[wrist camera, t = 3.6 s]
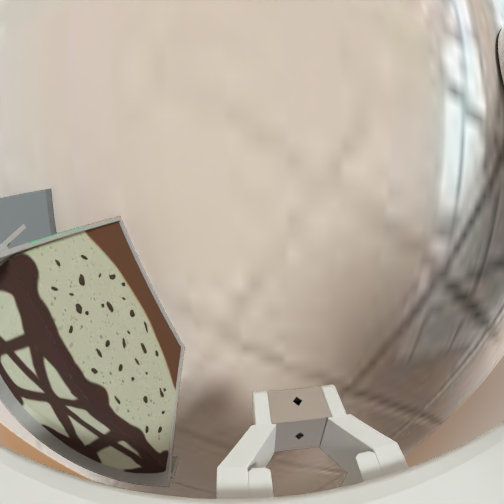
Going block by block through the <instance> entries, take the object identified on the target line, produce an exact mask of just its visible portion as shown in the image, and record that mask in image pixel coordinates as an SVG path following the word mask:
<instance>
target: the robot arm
mask: <svg viewBox="0 0 504 504" xmlns="http://www.w3.org/2000/svg"><path fill="white" fill-rule="evenodd" d="M498 54H499V62H500V68H501V74H502V78H503V83H504V27H503V28H502V29H501V31H500V34H499V39H498ZM313 447H320V448H321V449H322V450H323V451H324V452H325V453H326V454H327V455H328V456H329V457H330V458H332V459H333V460H334V461H335V462H336V463H337V464H338V465H339V466H340V467H342V468H343V469H344V470H345V471H346V472H347V475H346V477H345V479H344V481H343V482H342V484H341V486H340V487H339V488H334V489H329V490H323V491H318V492H312V493H305V494H298V495H289V496H280V497H274V493H273V486H272V479H271V471H270V470H269V469H267V468H266V466H267V465H268V463H269V461H270V459H271V458H272V456H273V454H274V452H278V451H287V450H294V449H304V448H313ZM0 504H504V421H503V422H501V423H500V424H498V425H497V426H495V427H493V428H492V429H490V430H488V431H487V432H485V433H483V434H481V435H479V436H478V437H476V438H474V439H472V440H470V441H468V442H467V443H464V444H463V445H460V446H459V447H456V448H454V449H452V450H450V451H448V452H446V453H444V454H441V455H439V456H437V457H434V458H432V459H430V460H428V461H425V462H422V463H420V464H417V465H415V466H412V467H409V466H408V464H407V462H406V460H405V458H404V456H403V454H402V452H401V450H400V448H399V446H398V444H397V442H395V441H393V440H392V439H390V438H388V437H387V436H385V435H383V434H382V433H380V432H378V431H377V430H375V429H373V428H372V427H370V426H369V425H367V424H365V423H364V422H362V421H361V420H359V419H357V418H356V417H354V416H353V415H351V414H346V412H345V409H344V407H343V404H342V402H341V399H340V397H339V395H338V392H337V390H336V387H335V386H334V385H333V384H331V385H324V386H316V387H308V388H299V389H291V390H272V391H253V425H251V426H250V427H249V429H248V430H247V431H246V432H245V434H244V435H243V436H242V438H241V439H240V440H239V441H238V443H237V444H236V445H235V447H234V448H233V449H232V450H231V451H230V453H229V454H228V455H227V456H226V458H225V459H224V460H223V461H222V462H221V464H220V465H219V466H218V467H217V490H216V499H208V498H190V497H179V496H169V495H161V494H154V493H147V492H141V491H135V490H130V489H125V488H120V487H116V486H111V485H107V484H103V483H99V482H95V481H92V480H88V479H85V478H81V477H78V476H75V475H72V474H69V473H65V472H63V471H60V470H57V469H55V468H52V467H49V466H46V465H44V464H42V463H39V462H36V461H34V460H32V459H30V458H27V457H25V456H23V455H21V454H18V453H16V452H14V451H12V450H10V449H8V448H6V447H4V446H2V445H0Z"/></svg>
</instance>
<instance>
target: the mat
mask: <svg viewBox="0 0 504 504" xmlns="http://www.w3.org/2000/svg"><path fill="white" fill-rule="evenodd" d="M23 224H24V225H25V226H26V228H25V229H24V230H23V231H22V232H21V233H20V234H19V235H18V236H16V237H15V238H14V239H13V240H12V241H11V243H10V244H9V246H8V249H10V248H13V247H16V246H19V245H22V244H25V243H28V242H31V241H35V240H38V239H41V238H44V237H47V236H51V235H54V234H56V228H55V221H54V214H53V205H52V196H51V189H46V190H41V191H35V192H30V193H24V194H19V195H14V196H9V197H4V198H0V244H2V243H3V242H4V241H5V240H6V239H7V238H8V237H9V236H10V235H11V234H13V233H14V232H15V231H16V230H17V229H18V228H19V227H21V226H22V225H23Z"/></svg>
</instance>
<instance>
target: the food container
mask: <svg viewBox="0 0 504 504" xmlns="http://www.w3.org/2000/svg"><path fill="white" fill-rule="evenodd" d="M25 228H26V226H25V225H24V224H23V225H22V226H21V227H19V228H18V229H17V230H16V231H15V232H14V233H13V234H11V235H10V236H9V237H8V238H7V239H6V240H5V241H4V242H3V243H2V244H0V400H1V402H2V403H3V404H4V406H5V407H6V408H7V409H8V411H9V412H10V413H11V414H12V415H13V416H14V417H15V418H16V419H17V420H18V422H19V423H20V424H21V425H22V426H23V427H25V428H26V429H27V430H28V431H29V432H30V433H31V434H32V435H33V436H35V437H36V438H37V439H38V440H40V441H41V442H42V443H43V444H45V445H46V446H47V447H49V448H50V449H52V450H53V451H55V452H56V453H58V454H59V455H61V456H63V457H64V458H66V459H68V460H70V461H71V462H73V463H75V464H77V465H79V466H81V467H83V468H85V469H88V470H90V471H93V472H95V473H97V474H100V475H103V476H106V477H109V478H112V479H115V480H119V481H123V482H128V483H132V484H138V485H146V486H159V487H169V484H170V478H174V475H175V471H176V468H177V465H178V461H179V458H178V457H172V454H173V443H174V432H175V422H176V413H177V404H178V396H179V387H180V379H181V372H182V364H183V357H184V350H185V347H184V345H183V343H182V341H181V340H180V338H179V336H178V334H177V332H176V331H175V329H174V327H173V325H172V323H171V321H170V320H169V318H168V316H167V314H166V312H165V310H164V308H163V306H162V304H161V302H160V300H159V299H158V297H157V295H156V293H155V291H154V289H153V287H152V285H151V283H150V280H149V278H148V276H147V274H146V272H145V270H144V268H143V266H142V264H141V262H140V259H139V257H138V255H137V253H136V251H135V248H134V246H133V244H132V242H131V239H130V237H129V235H128V233H127V230H126V228H125V226H124V223H123V221H122V218H121V216H118V217H115V218H111V219H107V220H103V221H99V222H96V223H92V224H88V225H85V226H81V227H78V228H74V229H71V230H67V231H64V232H61V233H57V234H54V235H51V236H47V237H44V238H41V239H38V240H35V241H31V242H28V243H25V244H22V245H19V246H16V247H13V248H10V249H8V246H9V244H10V243H11V241H12V240H13V239H14V238H15V237H16V236H18V235H19V234H20V233H21V232H22V231H23V230H24V229H25Z"/></svg>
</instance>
